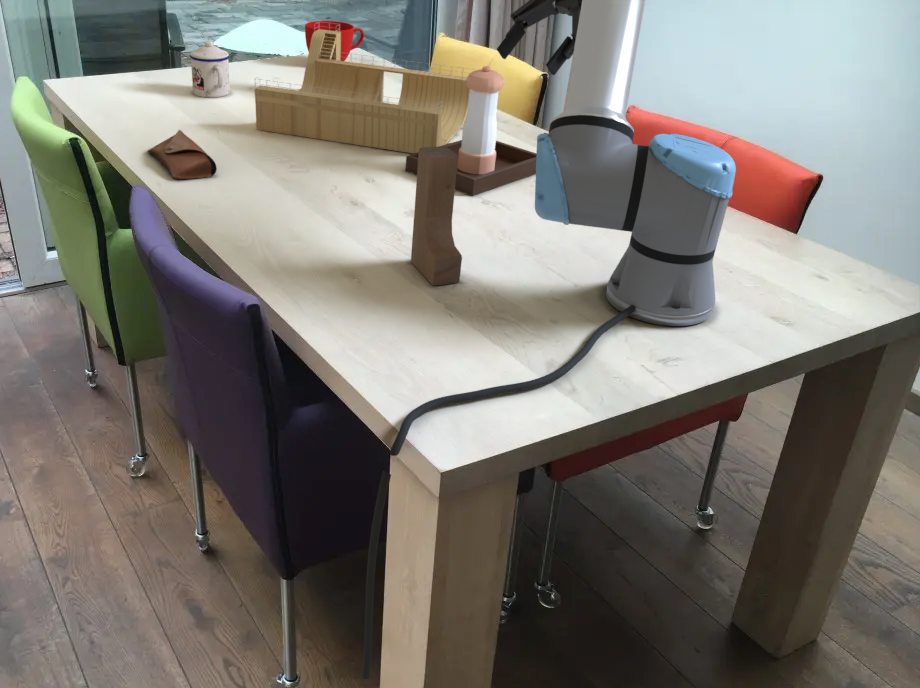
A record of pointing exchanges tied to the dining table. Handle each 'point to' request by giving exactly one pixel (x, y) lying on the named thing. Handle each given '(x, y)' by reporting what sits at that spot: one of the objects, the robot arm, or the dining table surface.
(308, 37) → the ceramic cup
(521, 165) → the tray
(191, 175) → the sunglasses case
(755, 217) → the dining table surface
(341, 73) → the skate ramp
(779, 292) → the dining table surface
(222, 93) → the teacup with lid
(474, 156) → the pepper shaker
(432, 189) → the wooden block
